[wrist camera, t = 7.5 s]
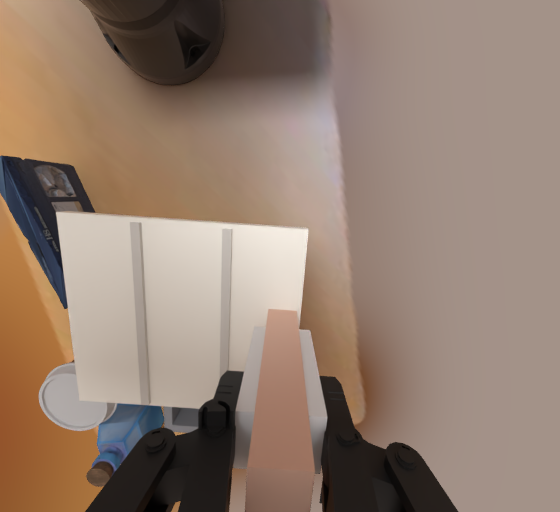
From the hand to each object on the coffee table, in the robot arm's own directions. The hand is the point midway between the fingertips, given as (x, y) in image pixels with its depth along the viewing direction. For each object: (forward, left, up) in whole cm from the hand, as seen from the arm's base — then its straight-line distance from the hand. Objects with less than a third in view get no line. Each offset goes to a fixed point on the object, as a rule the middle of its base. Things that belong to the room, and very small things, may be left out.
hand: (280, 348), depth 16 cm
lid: (0, -7, -3) cm, 8 cm away
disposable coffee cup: (+18, -25, -25) cm, 39 cm away
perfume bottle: (+30, -23, -25) cm, 45 cm away
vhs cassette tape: (-3, -29, -25) cm, 38 cm away
